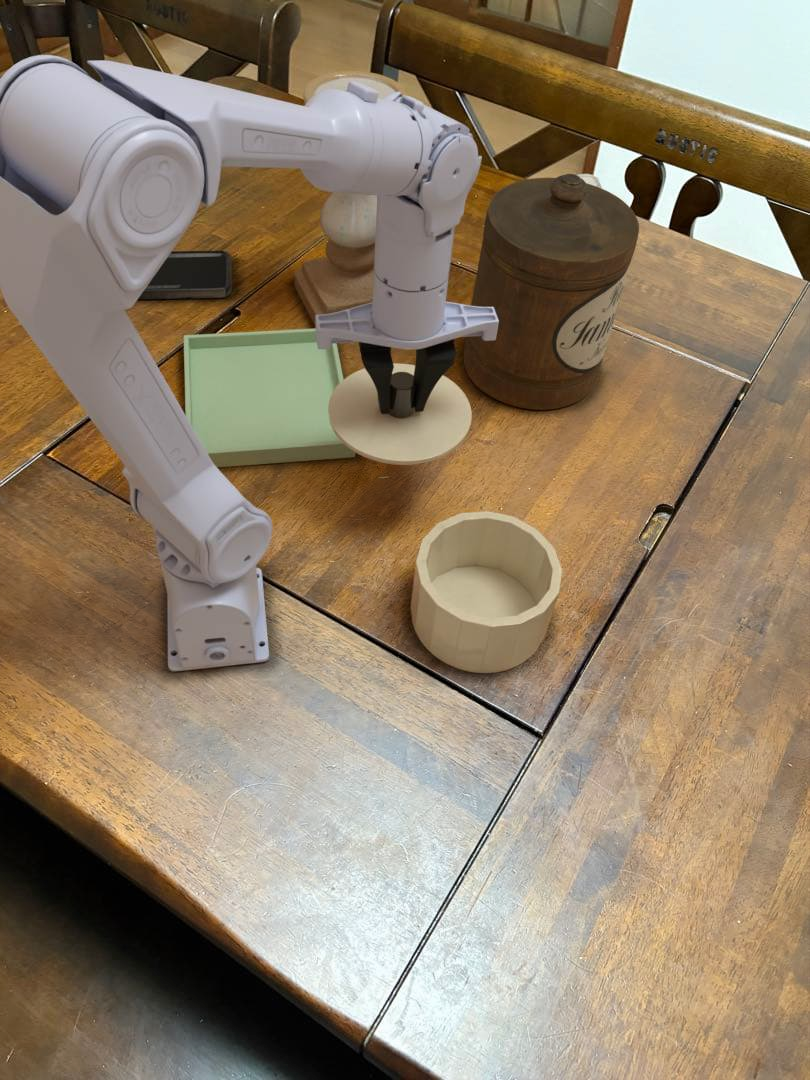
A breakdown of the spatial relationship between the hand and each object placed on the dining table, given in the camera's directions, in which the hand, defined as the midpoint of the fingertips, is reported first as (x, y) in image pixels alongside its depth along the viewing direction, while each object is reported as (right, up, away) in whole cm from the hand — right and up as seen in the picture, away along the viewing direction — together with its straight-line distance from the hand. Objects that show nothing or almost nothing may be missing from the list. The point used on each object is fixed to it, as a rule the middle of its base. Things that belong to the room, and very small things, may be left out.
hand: (400, 405), depth 80 cm
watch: (+21, +23, +34) cm, 46 cm away
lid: (0, -1, +1) cm, 1 cm away
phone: (-27, +18, +27) cm, 43 cm away
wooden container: (+14, +7, +21) cm, 26 cm away
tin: (+7, -18, -1) cm, 19 cm away
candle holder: (-6, +16, +26) cm, 31 cm away
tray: (-14, +3, +15) cm, 20 cm away
